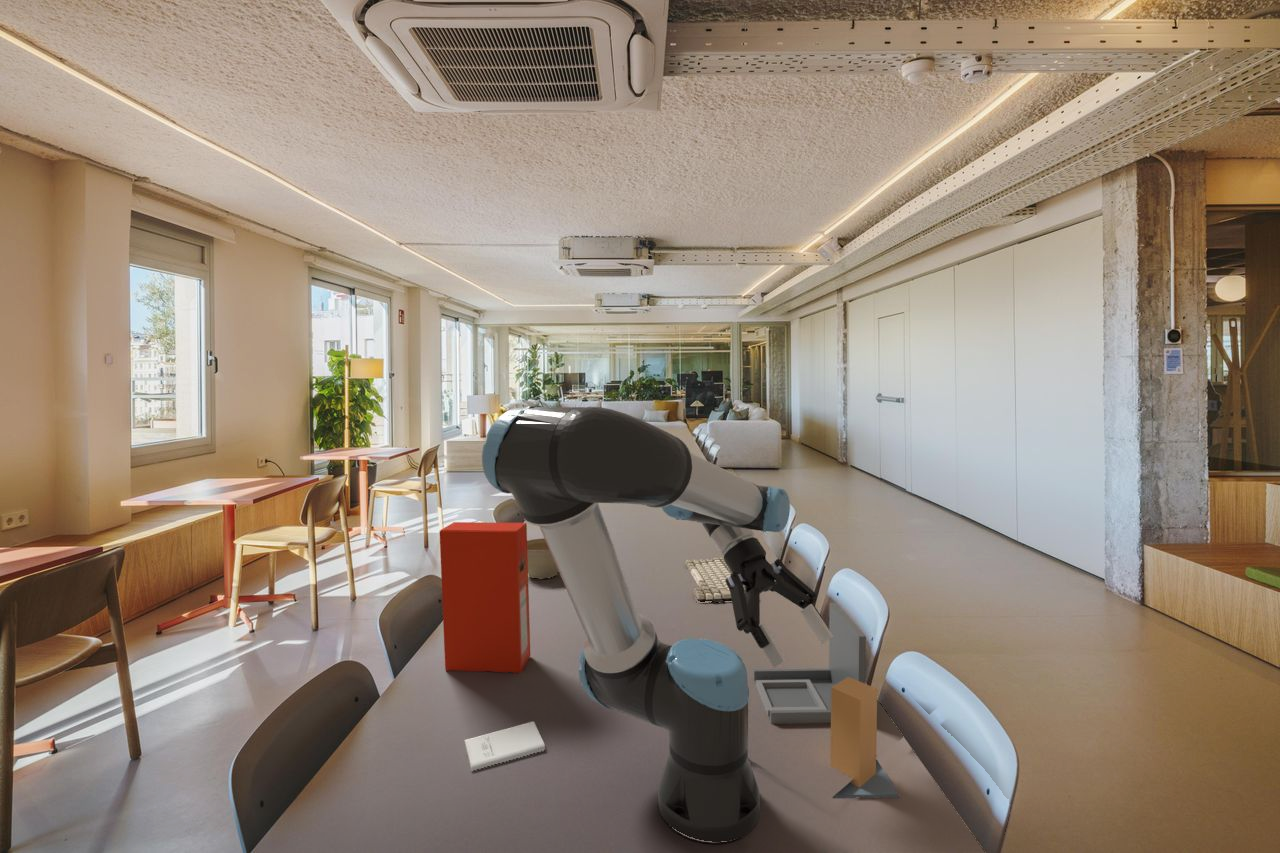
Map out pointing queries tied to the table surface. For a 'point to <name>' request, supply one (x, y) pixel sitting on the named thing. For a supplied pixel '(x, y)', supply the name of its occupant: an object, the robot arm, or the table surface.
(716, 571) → the mechanical keyboard
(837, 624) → the case
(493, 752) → the external hard drive
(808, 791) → the table surface
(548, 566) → the planter bowl
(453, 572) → the file binder
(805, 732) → the table surface
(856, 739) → the module
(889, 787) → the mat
